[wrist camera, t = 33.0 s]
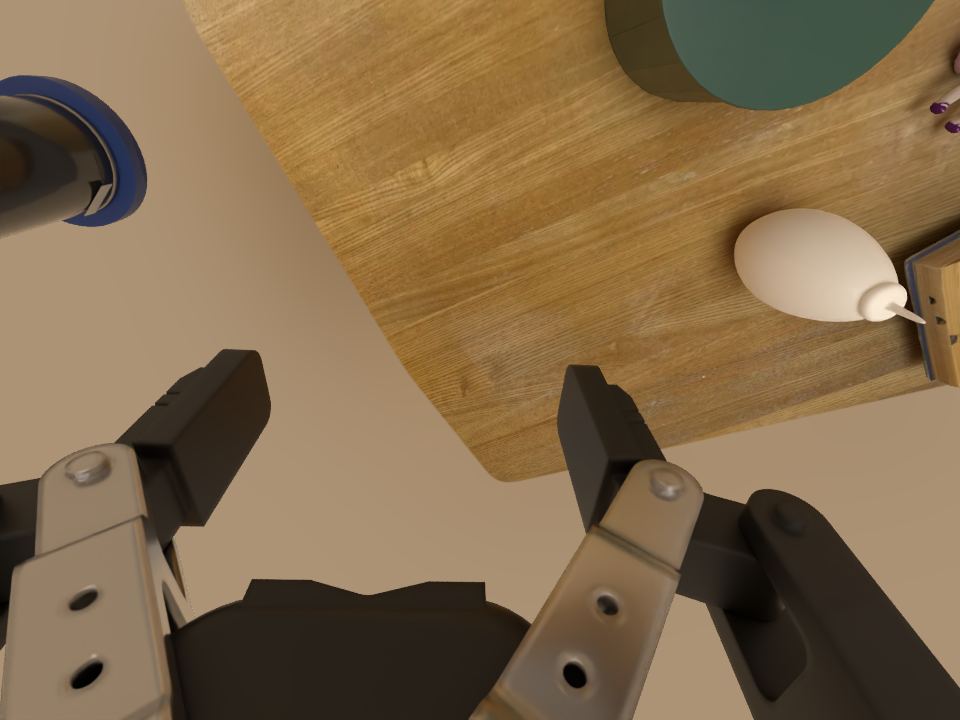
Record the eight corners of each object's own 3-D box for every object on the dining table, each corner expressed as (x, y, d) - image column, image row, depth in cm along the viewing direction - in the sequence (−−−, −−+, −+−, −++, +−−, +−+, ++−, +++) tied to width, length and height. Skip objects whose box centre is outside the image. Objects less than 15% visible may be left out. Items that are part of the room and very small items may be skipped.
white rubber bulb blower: (705, 220, 40) (853, 295, 25) (794, 181, 39) (1010, 235, 23) (719, 291, 44) (856, 394, 29) (801, 258, 43) (991, 349, 27)
